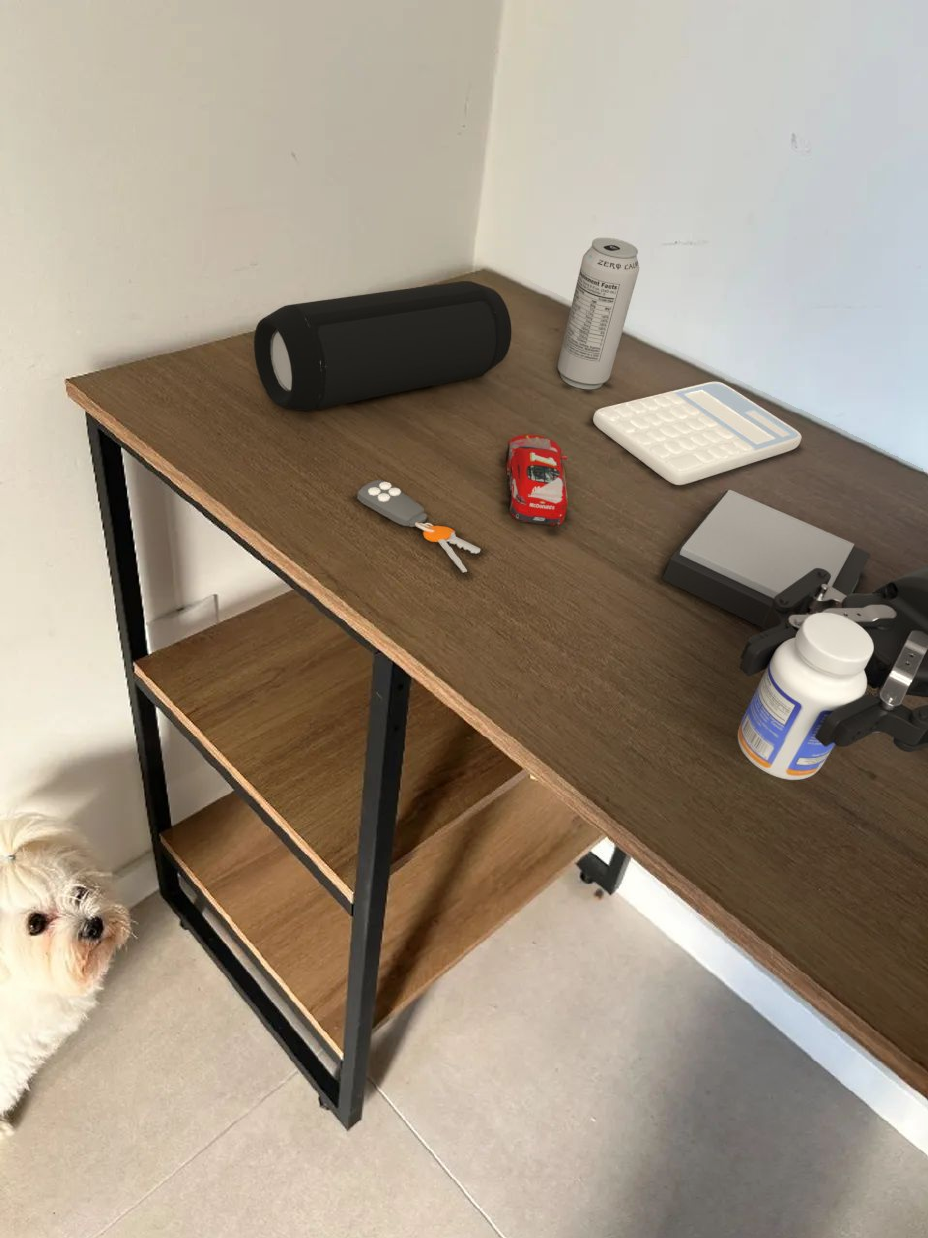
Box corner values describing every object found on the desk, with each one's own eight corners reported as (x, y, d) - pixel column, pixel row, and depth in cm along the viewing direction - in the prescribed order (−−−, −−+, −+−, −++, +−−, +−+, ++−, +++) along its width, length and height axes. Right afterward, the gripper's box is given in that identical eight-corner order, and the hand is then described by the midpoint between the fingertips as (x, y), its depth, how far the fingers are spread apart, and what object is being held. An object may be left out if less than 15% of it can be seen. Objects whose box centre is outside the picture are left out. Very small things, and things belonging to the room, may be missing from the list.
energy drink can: (618, 385, 106) (655, 253, 96) (582, 396, 102) (616, 261, 93) (581, 361, 109) (613, 232, 99) (544, 371, 106) (574, 238, 96)
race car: (504, 448, 92) (511, 412, 89) (557, 456, 92) (566, 421, 90) (504, 526, 82) (512, 488, 79) (564, 535, 82) (575, 497, 80)
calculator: (586, 422, 98) (591, 406, 97) (714, 390, 108) (719, 376, 107) (674, 489, 91) (680, 473, 90) (802, 449, 101) (809, 433, 100)
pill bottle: (823, 733, 60) (888, 621, 53) (819, 795, 56) (889, 681, 49) (739, 705, 61) (794, 591, 54) (729, 764, 57) (787, 648, 50)
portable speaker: (455, 349, 106) (468, 262, 100) (507, 390, 101) (525, 301, 94) (249, 387, 93) (249, 290, 87) (296, 436, 88) (300, 336, 81)
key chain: (351, 502, 81) (352, 488, 80) (381, 487, 84) (382, 473, 83) (463, 575, 76) (466, 561, 75) (491, 557, 78) (494, 543, 77)
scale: (860, 574, 85) (876, 546, 83) (819, 656, 75) (835, 627, 73) (717, 510, 89) (729, 482, 87) (661, 579, 80) (672, 550, 78)
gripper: (894, 509, 63) (718, 570, 55) (1091, 643, 54) (918, 739, 46) (848, 593, 68) (680, 661, 60) (1023, 728, 59) (855, 829, 51)
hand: (785, 695), depth 53 cm, fingers closed on pill bottle, 5 cm apart
